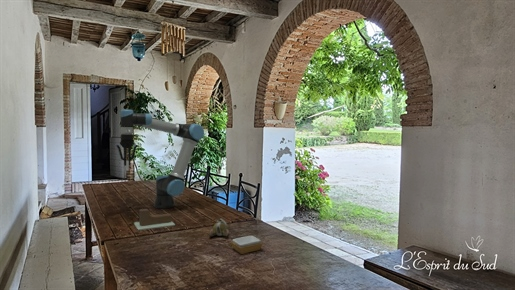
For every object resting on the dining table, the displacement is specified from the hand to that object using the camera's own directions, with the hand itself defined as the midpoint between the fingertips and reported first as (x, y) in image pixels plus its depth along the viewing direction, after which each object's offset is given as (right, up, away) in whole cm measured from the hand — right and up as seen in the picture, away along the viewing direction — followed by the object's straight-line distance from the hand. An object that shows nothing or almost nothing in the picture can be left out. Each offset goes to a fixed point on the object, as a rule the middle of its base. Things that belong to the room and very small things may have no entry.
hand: (127, 170), depth 209 cm
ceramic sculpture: (+63, -33, -31) cm, 78 cm away
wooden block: (+14, -26, -18) cm, 35 cm away
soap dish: (+78, -34, -53) cm, 100 cm away
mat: (+22, -31, -14) cm, 41 cm away
